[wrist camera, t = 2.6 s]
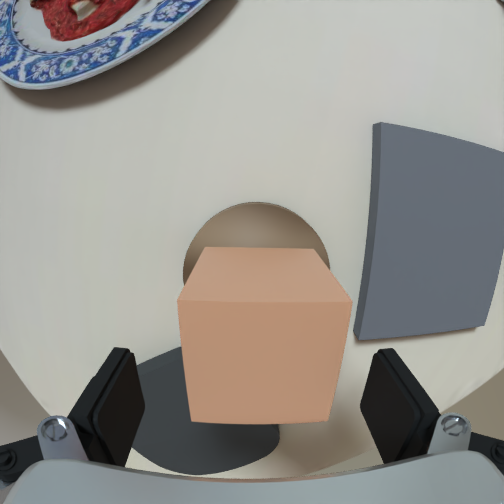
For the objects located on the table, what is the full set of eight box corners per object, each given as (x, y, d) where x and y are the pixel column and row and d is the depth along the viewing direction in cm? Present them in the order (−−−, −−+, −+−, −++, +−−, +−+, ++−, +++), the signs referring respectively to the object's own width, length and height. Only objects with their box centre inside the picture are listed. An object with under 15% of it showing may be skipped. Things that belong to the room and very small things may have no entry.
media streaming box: (92, 383, 26) (81, 402, 23) (208, 328, 24) (203, 348, 21) (179, 464, 29) (176, 483, 26) (291, 430, 27) (294, 451, 24)
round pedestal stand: (185, 201, 21) (128, 234, 10) (330, 204, 21) (398, 240, 11) (190, 330, 23) (159, 428, 13) (317, 332, 23) (354, 428, 13)
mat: (372, 124, 19) (381, 122, 18) (501, 154, 19) (512, 155, 18) (353, 330, 23) (358, 340, 22) (476, 318, 24) (484, 325, 22)
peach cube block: (204, 246, 17) (177, 299, 10) (313, 248, 17) (352, 301, 10) (208, 340, 18) (191, 421, 12) (304, 341, 19) (327, 421, 12)
